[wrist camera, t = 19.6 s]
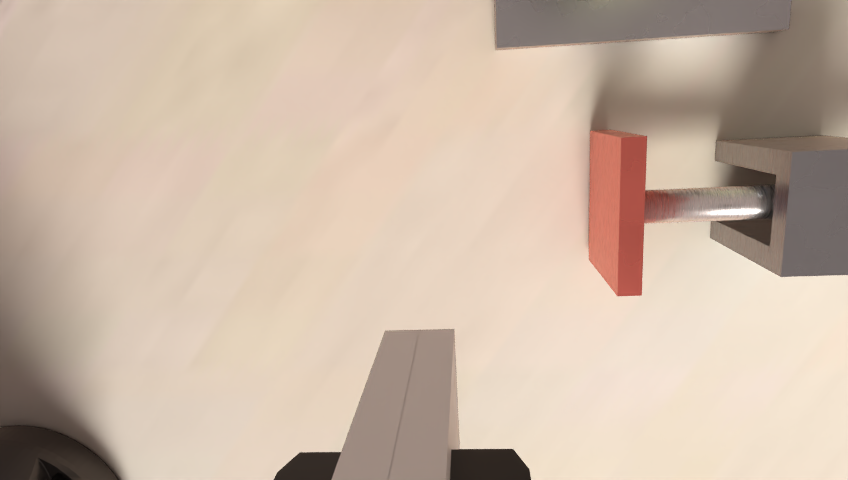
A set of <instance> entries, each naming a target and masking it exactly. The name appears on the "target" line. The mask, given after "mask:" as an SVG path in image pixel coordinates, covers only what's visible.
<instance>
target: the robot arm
mask: <svg viewBox="0 0 848 480" xmlns="http://www.w3.org/2000/svg"><path fill="white" fill-rule="evenodd" d="M459 445H460V441H459V420H458V398H457V377H456V355H455V334H454V329H438V330H396V331H385V333H384V335H383V338H382V341H381V344H380V346H379V349H378V352H377V355H376V358H375V360H374V363H373V366H372V369H371V371H370V374H369V377H368V380H367V382H366V385H365V388H364V391H363V393H362V396H361V399H360V402H359V405H358V407H357V410H356V413H355V416H354V418H353V421H352V424H351V427H350V429H349V432H348V435H347V438H346V441H345V443H344V446H343V449H342V452H307V453H299V454H298V455H297V456H295V457H294V458H293V459H292V460H291V461H290V462H289V463H287V464H286V465H285V466H284V467H283V468H282V469H281V470H280V471H278V472H277V474H276V476H275V478H274V480H531V477H530V471H529V468H528V467H527V466H526V465H525V463H524V462H523V461H522V460H521V458H520V457H519V456H518V455H517V454H516V452H515V451H514V450H513V449H459ZM0 480H118V479H117V478H116V476H115V475H114V474H113V472H112V471H111V470H110V469H109V468H108V467H107V465H106V464H105V463H104V462H103V461H102V460H101V459H100V458H98V457H97V456H96V455H95V454H94V453H92V452H91V451H90V450H89V449H87V448H86V447H84V446H83V445H81V444H79V443H78V442H76V441H74V440H72V439H70V438H68V437H66V436H64V435H62V434H59V433H56V432H53V431H50V430H47V429H42V428H37V427H30V426H8V427H2V428H0Z"/></svg>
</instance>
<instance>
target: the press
mask: <svg viewBox="0 0 848 480" xmlns="http://www.w3.org/2000/svg"><path fill="white" fill-rule="evenodd" d="M494 7H495V46H496V50H505V49H520V48H536V47H551V46H566V45H582V44H597V43H612V42H628V41H643V40H658V39H674V38H689V37H704V36H720V35H735V34H750V33H766V32H778V31H783V30H787V29H789V22H790V11H791V0H494ZM715 161H718V162H723V163H727V164H731V165H736V166H740V167H744V168H749V169H753V170H757V171H762V172H766V173H771V174H775V175H776V183H775V195H774V206H773V218H772V219H749V220H723V221H711V234H710V238H711V239H713V240H715V241H717V242H719V243H720V244H722V245H724V246H726V247H728V248H729V249H731V250H733V251H735V252H737V253H739V254H740V255H742V256H744V257H746V258H748V259H749V260H751V261H753V262H755V263H757V264H758V265H760V266H762V267H764V268H766V269H768V270H769V271H771V272H773V273H775V274H777V275H778V276H780V277H790V276H823V275H848V138H845V137H834V136H823V135H820V136H800V137H780V138H760V139H740V140H720V141H716V153H715Z"/></svg>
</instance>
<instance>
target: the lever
mask: <svg viewBox="0 0 848 480" xmlns="http://www.w3.org/2000/svg"><path fill="white" fill-rule="evenodd" d="M646 151H647V136H643V135H637V134H631V133H626V132H620V131H615V130H598V131H590V208H589V260H590V262H591V263H592V264H593V265H594V267H595V268H596V269H597V271H598V272H599V273H600V274H601V276H602V277H603V278H604V280H605V281H606V282H607V283H608V285H609V286H610V287H611V288H612V290H613V291H614V292H615V294H616V295H617V296H639V295H642V269H643V239H644V224H645V223H671V222H697V221H723V220H749V219H772V218H773V206H774V195H775V185H756V186H733V187H710V188H687V189H664V190H645V180H646Z"/></svg>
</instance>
